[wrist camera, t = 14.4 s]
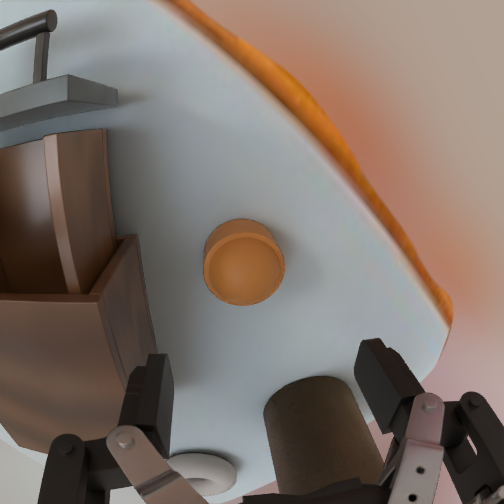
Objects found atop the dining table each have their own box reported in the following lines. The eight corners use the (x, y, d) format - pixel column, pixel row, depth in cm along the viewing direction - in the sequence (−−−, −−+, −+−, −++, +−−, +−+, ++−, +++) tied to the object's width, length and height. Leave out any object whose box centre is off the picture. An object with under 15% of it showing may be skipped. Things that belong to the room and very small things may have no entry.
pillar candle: (274, 375, 28) (312, 521, 14) (364, 373, 29) (425, 490, 16) (254, 432, 31) (275, 550, 17) (332, 428, 33) (370, 531, 19)
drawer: (-20, 64, 13) (-82, 60, 6) (121, 20, 14) (79, -22, 8) (8, 295, 20) (-35, 345, 14) (136, 296, 22) (112, 363, 15)
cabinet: (-5, 242, 20) (-70, 295, 11) (138, 233, 21) (97, 302, 13) (46, 381, 26) (18, 446, 17) (166, 390, 27) (159, 470, 19)
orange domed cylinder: (206, 287, 23) (205, 324, 19) (202, 219, 21) (200, 245, 17) (275, 284, 24) (288, 319, 20) (278, 217, 22) (294, 242, 18)
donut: (193, 438, 31) (145, 463, 33) (194, 462, 28) (143, 484, 29) (251, 463, 35) (201, 486, 36) (254, 484, 31) (202, 504, 33)
